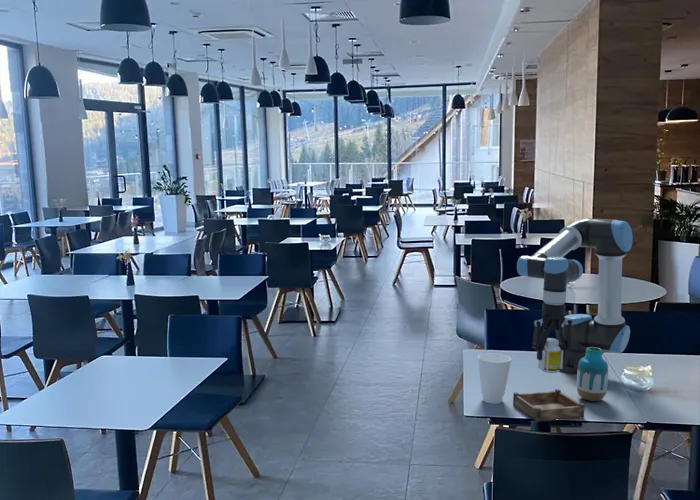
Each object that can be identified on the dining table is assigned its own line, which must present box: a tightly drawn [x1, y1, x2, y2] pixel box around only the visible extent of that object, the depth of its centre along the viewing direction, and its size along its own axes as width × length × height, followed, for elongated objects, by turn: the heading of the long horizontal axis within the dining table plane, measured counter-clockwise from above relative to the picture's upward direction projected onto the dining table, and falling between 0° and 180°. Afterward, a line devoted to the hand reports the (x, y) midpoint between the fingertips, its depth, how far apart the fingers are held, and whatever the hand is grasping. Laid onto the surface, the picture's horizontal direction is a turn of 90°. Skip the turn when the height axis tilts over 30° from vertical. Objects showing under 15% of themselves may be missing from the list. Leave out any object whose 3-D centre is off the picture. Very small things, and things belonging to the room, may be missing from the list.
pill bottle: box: [541, 337, 561, 374], centre depth 229 cm, size 6×6×11 cm
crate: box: [512, 388, 586, 423], centre depth 231 cm, size 18×16×5 cm
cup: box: [477, 352, 512, 405], centre depth 240 cm, size 12×12×16 cm
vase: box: [576, 347, 609, 402], centre depth 243 cm, size 11×11×19 cm
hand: (550, 368), depth 230 cm, fingers closed on pill bottle, 6 cm apart
